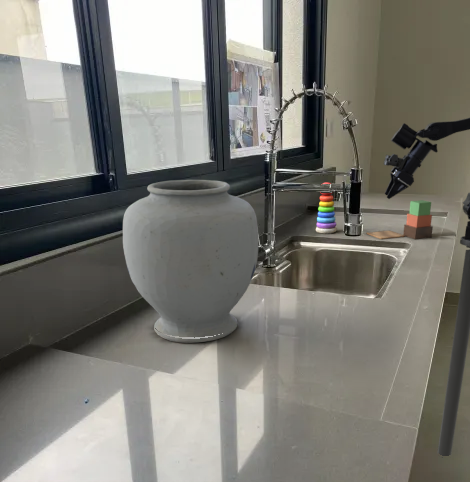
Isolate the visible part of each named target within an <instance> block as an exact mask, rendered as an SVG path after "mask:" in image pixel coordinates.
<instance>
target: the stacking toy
mask: <svg viewBox="0 0 470 482" xmlns="http://www.w3.org/2000/svg"><path fill="white" fill-rule="evenodd" d="M322 184H332V183H331V182H323V183H322ZM320 194H321V195H320V196H319V200H320V201H319V204H318V205H319V206H318V208H317V210H318V212H317V218H316V221H317V222H316V227H315V231H316V233H318V234H327V235H328V234H334V233H336V232H337V230H338V229H337V222H336V217H335V215H336V213H335V206H334V205H335V202H334V201H333V200H334V196H333V195H332V194H333V192H332V193H321V192H320Z"/></svg>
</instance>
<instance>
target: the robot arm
mask: <svg viewBox="0 0 470 482" xmlns="http://www.w3.org/2000/svg"><path fill="white" fill-rule="evenodd" d="M469 130H470V117H466V118H461V119H457V120H452V121H451V120H450V121H434V122H430V123H428V124H427V125H426V126H425V128H423V129H419V130H417V131H416V130H414V129H413V128H411V127H410V126H409V125H408V124H406V123H402V125H401V126H400V127H399V128H398V130H396V131H395V132H394V134H393V135H392V137H391V139H390V141H391V142H392V143H394V144H395V145H396V146H398V147H399V148H401V149H403V150H406V149H408V150H409V151H408V153H407V154H405V155H403V157H399V155H398V154H395V153H392V154H391V155H390V154H386V155H385V158H384V161H383V165H384V166H387V167H389V166H390V167H392V168H391V169H390V173H389V175H390V180H389V183H388V185H387V187H386V189H385V192H384V195H385V196H386V198H387V199H388V200H390V199H392V198H393V197H395V196H396V195H398V194H400V193H401V192H403V191H404V190H406V189H407V188H409V187H411V186H412V185H413V184H414V183H415V178H414V174H415V173H416V171H417V170H418V169H419V168H421V166H422V163H423V162H424V161H425V159H426V158H427V157H428V155H429V154H430V152H431V151H432V152H434V153H438V144H437V143H432V142H430V141H433V142H436V141H437V142H438V141H440V140H441V139H442V140H443V139H444V138H447V137H449V136H452V135H454V134H457V133H460V132H464V131H469ZM417 137H418V138H417ZM419 138H421V139H425V140H424V141H422V140H421V139H419ZM462 204H463V206H462V212H463V213H464V215H466V216H467V219H468V221H467V222H466V226H465V232H464V236H461V237H462V238H465V239H468V240H470V192H468V193H467V195H466V198H465V200H464V201H462Z"/></svg>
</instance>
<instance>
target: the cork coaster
mask: <svg viewBox="0 0 470 482" xmlns="http://www.w3.org/2000/svg"><path fill="white" fill-rule="evenodd" d="M366 235H369V236H371V237H374V238H376V239H379V240H385V239H386V240H387V239H397V238H404V237H405V238H406V236H405V235H403V234H402V233H399V232H396V231H393V230H381V231H372V232H366Z"/></svg>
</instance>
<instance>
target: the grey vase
mask: <svg viewBox="0 0 470 482" xmlns="http://www.w3.org/2000/svg"><path fill="white" fill-rule="evenodd" d="M230 187H231V186H230V184H229V183H227V182H226V181H220V180H209V179H175V180H173V179H172V180H164V181H159V182H153V183H151V184H149V185H148V186H147V191H148V192H149V195H147V196H145V197H143V198H140V199H138V200H136V201H134V202H133V203H132V204H130V205H129V206H128V207H127V208H126V209H125V212H124V215H123V218H122V247H123V253H124V258H125V264H126V268H127V272H128V274H129V277H130V279H131V282H132V283H133V285H134V287H135V289H136V290H137V292H138V293H139V294H140V296H141V297H142V298H143V299H144V300H145V301H146V302H147V304H149V305H150V306H151V307H152V308H153V309H154V311H156V312H157V313H158V315H159V316H160V317H158V319H157V320H156V321H155V323H154V326H153V329H154V332H155V333H156V334H157V336H158V337H161V338H162V339H164V340H167V341H170V342H174V343H183V344H184V343H187V344H191V343H192V344H195V343H205V342H210V341H216V340H219V339H222V338H225V337H227V336H229V335H231V334H232V333H233V332H234V331H236V329H237V327H238V320H237V318H236V317H235V316H234V315H233V314H232V313H231V311H232V310H233V309H234V308H235V306H237V304H238V303H239V302H240V301H241V299H242V298H243V296H244V295H245V294H246V292H247V290H248V289H249V286H250V284H251V282H252V280H253V278H254V274H255V272H256V268H257V264H258V257H259V227H258V218H257V214H256V212H255V209H254V208H253V207H252V205H251V204H250V202H248V201H247V200H245V199H244V198H240V197H239V196H236V195H231V194H229V193H228V191H229V190H230V189H231V188H230ZM155 328H156V329H157V330H158V331H160V332H162V333H164V334H167V335H172V336H179V337H194V338H195V337H205V336H213V337H208V338H200V339H182V338H175V337H170V336H167V335H164V334H162V333H160V332H158V331H157V330H156V329H155ZM222 333H223V334H222ZM218 334H220V335H218ZM214 335H216V336H214Z"/></svg>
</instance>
